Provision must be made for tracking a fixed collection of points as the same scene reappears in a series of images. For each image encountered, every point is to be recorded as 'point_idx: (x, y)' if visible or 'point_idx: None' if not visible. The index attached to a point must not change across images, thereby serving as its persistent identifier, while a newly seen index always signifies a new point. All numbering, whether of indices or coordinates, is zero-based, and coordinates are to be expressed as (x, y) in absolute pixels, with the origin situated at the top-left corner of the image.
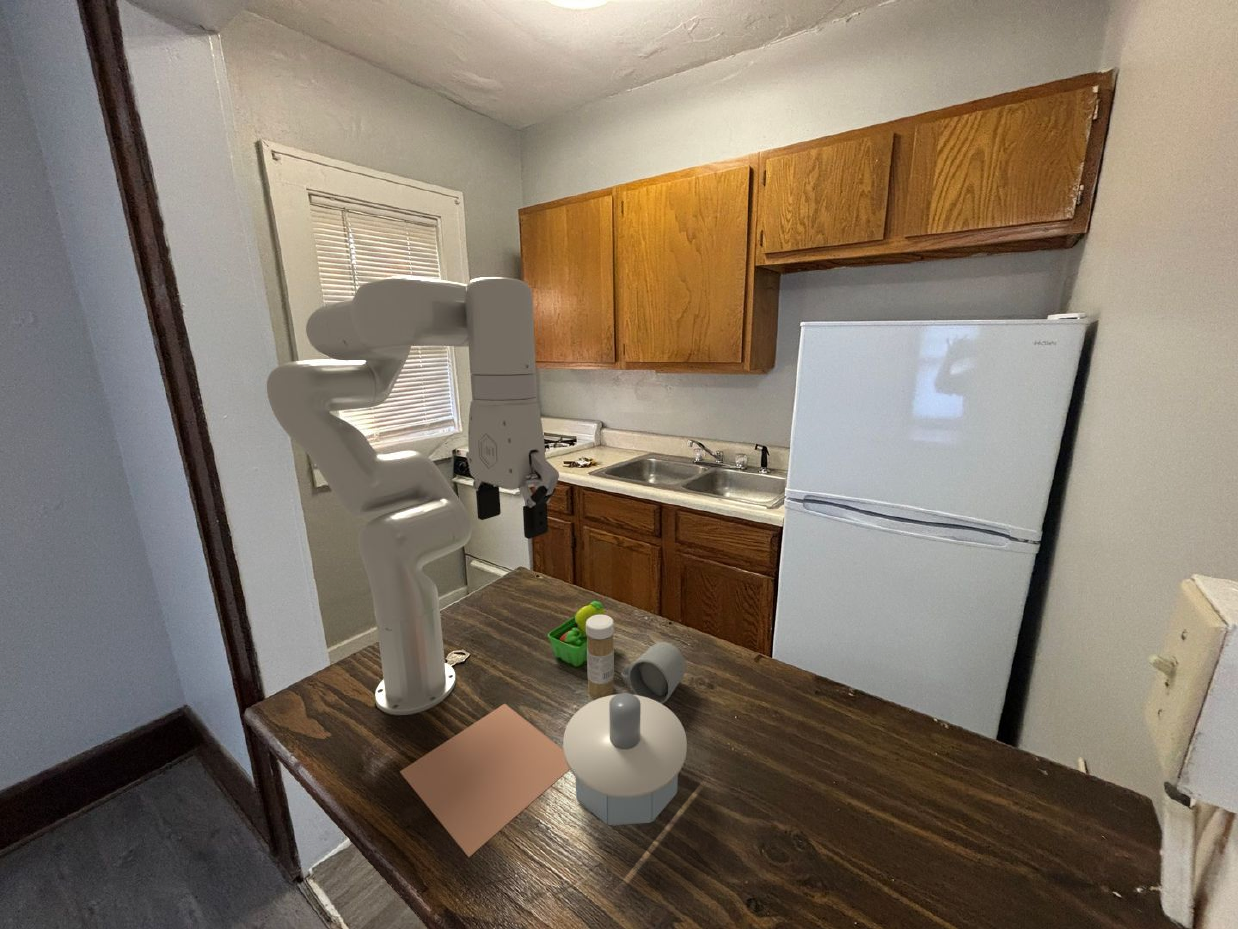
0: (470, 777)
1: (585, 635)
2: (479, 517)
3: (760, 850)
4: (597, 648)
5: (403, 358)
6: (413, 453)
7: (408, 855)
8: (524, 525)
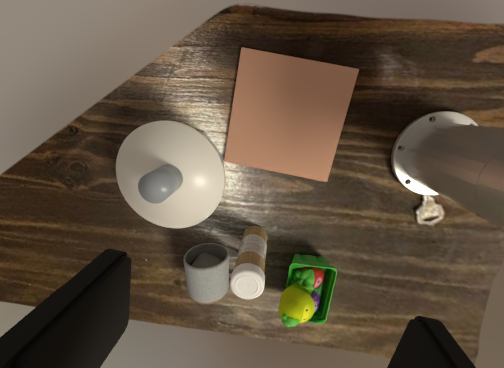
0: (294, 100)
1: (293, 284)
2: (429, 321)
3: (85, 164)
4: (244, 257)
5: None
6: None
7: (287, 22)
8: (85, 279)
